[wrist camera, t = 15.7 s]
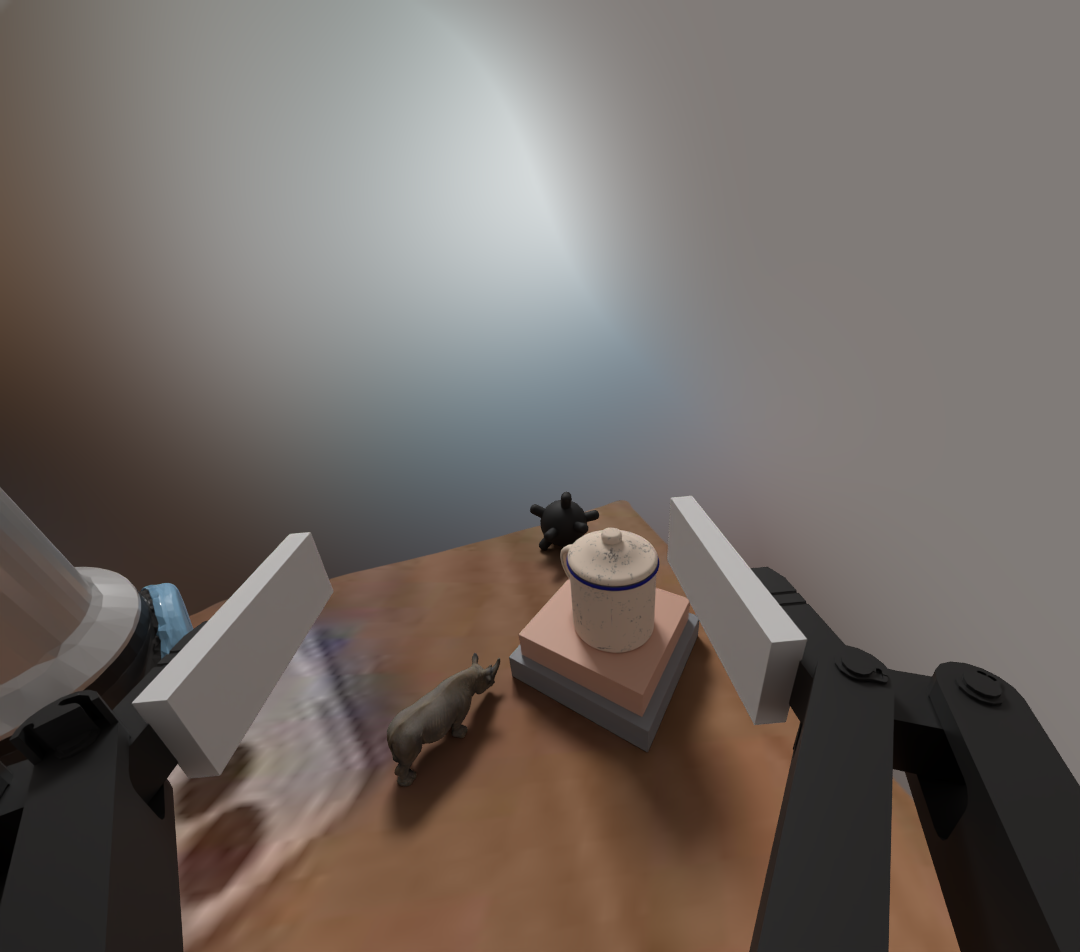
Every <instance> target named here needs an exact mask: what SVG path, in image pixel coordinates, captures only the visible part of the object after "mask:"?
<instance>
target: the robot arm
mask: <svg viewBox="0 0 1080 952" xmlns="http://www.w3.org/2000/svg"><path fill="white" fill-rule="evenodd" d="M667 560H668V562H669V564H670V566H671V568H672V570H673V571H674V573H675V575H676V577H677V579H678V581H679V583H680V585H681V587H682V588H683V590H684V592H685V594H686V596H687V598H688V600H689V602H690V604H691V606H692V607H693V609H694V611H695V613H696V615H697V617H698V619H699V621H700V623H701V625H702V626H703V628H704V630H705V632H706V634H707V636H708V638H709V640H710V642H711V643H712V645H713V647H714V649H715V651H716V653H717V655H718V657H719V659H720V661H721V662H722V664H723V666H724V668H725V670H726V672H727V674H728V676H729V678H730V680H731V681H732V683H733V685H734V687H735V689H736V691H737V693H738V695H739V697H740V698H741V700H742V702H743V704H744V706H745V708H746V710H747V712H748V714H749V716H750V717H751V719H752V721H753V723H754V725H759V724H770V723H780V722H786V719H787V715H788V711H789V707H790V706H791V708H792V709H793V711H794V713H795V714H796V716H797V717H798V719H799V720H800V725H799V729H798V732H797V736H796V739H795V743H794V746H793V750H794V751H793V756H792V760H791V765H790V769H789V774H788V778H787V783H786V787H785V792H784V796H783V801H782V806H781V810H780V815H779V819H778V824H777V828H776V833H775V837H774V842H773V846H772V851H771V855H770V860H769V864H768V869H767V874H766V878H765V883H764V887H763V892H762V896H761V901H760V905H759V910H758V914H757V919H756V923H755V928H754V932H753V937H752V942H751V946H750V951H749V952H888V949H889V905H890V861H891V817H892V771H893V769H896V770H900V771H904V772H905V773H906V777H907V780H908V783H909V786H910V790H911V793H912V796H913V799H914V803H915V806H916V809H917V812H918V816H919V819H920V822H921V825H922V828H923V832H924V835H925V838H926V841H927V845H928V848H929V851H930V854H931V857H932V861H933V864H934V867H935V870H936V874H937V877H938V880H939V883H940V886H941V890H942V893H943V896H944V899H945V903H946V906H947V909H948V912H949V916H950V919H951V922H952V925H953V928H954V932H955V935H956V938H957V941H958V945H959V948H960V951H961V952H1080V786H1079V784H1078V783H1077V781H1076V779H1075V778H1074V776H1073V775H1072V773H1071V772H1070V770H1069V768H1068V767H1067V765H1066V764H1065V762H1064V761H1063V759H1062V757H1061V756H1060V754H1059V753H1058V751H1057V750H1056V748H1055V746H1054V745H1053V743H1052V742H1051V740H1050V739H1049V737H1048V735H1047V734H1046V732H1045V731H1044V729H1043V728H1042V726H1041V724H1040V723H1039V721H1038V720H1037V718H1036V717H1035V715H1034V714H1033V712H1032V711H1031V709H1030V707H1029V706H1028V704H1027V703H1026V701H1025V699H1024V698H1023V697H1022V696H1021V695H1020V694H1019V693H1018V692H1017V691H1016V689H1015V688H1014V687H1012V686H1011V685H1010V684H1008V683H1007V682H1005V681H1004V680H1002V679H1001V678H1000V677H998V676H996V675H994V674H992V673H990V672H988V671H986V670H984V669H982V668H979V667H976V666H973V665H969V664H966V663H959V662H947V663H942V664H940V665H939V666H938V667H937V668H936V670H935V672H934V674H933V676H932V677H930V676H925V675H918V674H913V673H907V672H901V671H895V670H891V669H887V667H886V666H885V665H884V664H883V663H882V662H881V661H879V660H878V659H877V658H875V657H874V656H872V655H871V654H869V653H867V652H865V651H863V650H860V649H858V648H855V647H851V646H846V645H845V644H844V643H843V642H842V641H841V640H840V639H839V638H838V636H837V635H836V634H835V633H834V632H833V631H832V630H831V628H829V626H828V625H827V624H826V623H825V622H824V621H823V620H822V618H821V617H820V616H819V615H818V614H817V613H816V612H815V611H814V610H813V608H812V607H811V606H810V605H809V604H806V601H805V600H804V598H803V597H802V596H801V595H800V594H799V593H797V592H796V589H794V587H793V586H792V585H791V584H790V583H789V582H788V581H787V580H786V578H785V577H783V576H781V575H780V574H778V573H777V572H775V571H773V570H772V569H770V568H768V567H761V568H749V566H748V565H747V564H746V563H745V562H744V560H743V559H742V558H741V556H740V555H739V554H738V553H737V551H736V550H735V549H734V548H733V546H732V545H731V544H730V543H729V542H728V540H727V539H726V538H725V536H724V535H723V534H722V533H721V531H720V530H719V529H718V528H717V526H716V525H715V524H714V523H713V522H712V520H711V519H710V518H709V517H708V515H707V514H706V513H705V512H704V510H703V509H702V508H701V507H700V505H699V504H698V503H697V502H696V500H695V499H694V498H693V497H692V496H684V497H675V498H671V504H670V521H669V541H668V557H667ZM332 593H333V589H332V587H331V584H330V581H329V579H328V576H327V574H326V571H325V568H324V566H323V563H322V561H321V558H320V555H319V553H318V550H317V548H316V545H315V542H314V540H313V537H312V535H311V532H307V533H297V534H289V535H288V537H287V538H286V539H285V540H284V541H283V542H282V543H281V544H280V545H279V546H278V547H277V548H276V549H275V550H274V551H273V553H272V554H271V555H270V556H269V557H268V558H267V559H266V560H265V561H264V562H263V563H262V564H261V565H260V566H259V567H258V569H257V570H256V571H255V572H254V573H253V574H252V575H251V576H250V577H249V578H248V579H247V580H246V581H245V582H244V584H243V585H242V586H241V587H240V588H239V589H238V590H237V591H236V592H235V593H234V594H233V595H232V596H231V598H229V600H228V601H227V602H226V603H225V604H224V605H223V606H222V607H221V608H220V609H219V610H218V611H217V612H216V613H215V615H214V616H213V617H212V618H211V619H210V620H209V621H204V622H203V623H201V624H200V625H199V626H197V627H196V628H194V629H193V627H192V624H191V621H190V619H189V616H188V613H187V610H186V607H185V605H184V602H183V600H182V597H181V595H180V592H179V590H178V589H177V588H176V586H174V585H173V584H168V583H163V584H159V585H149V586H146V587H144V588H142V590H141V591H140V592H138V590H137V589H136V588H135V587H134V585H133V584H132V583H131V582H130V581H129V580H128V579H127V578H125V577H123V576H122V575H120V574H118V573H115V572H112V571H109V570H105V569H100V568H92V567H73V566H72V565H71V564H70V562H68V560H67V559H66V558H65V557H64V556H63V555H62V554H61V553H60V552H59V551H58V550H57V548H56V547H55V546H54V545H53V544H52V543H51V542H50V541H49V540H48V539H47V538H46V536H45V535H44V534H43V533H42V532H41V531H40V530H39V529H38V528H37V527H36V526H35V525H34V523H33V522H32V521H31V520H30V519H29V518H28V517H27V516H26V515H25V514H24V513H23V511H22V510H21V509H20V508H19V507H18V506H17V505H16V504H15V503H14V502H13V501H12V500H11V499H10V497H9V496H8V495H7V494H6V493H5V492H4V491H3V490H2V489H1V488H0V952H183V937H182V922H181V907H180V892H179V876H178V861H177V846H176V831H175V816H174V800H173V788H172V786H171V784H170V782H169V781H168V780H167V778H168V776H169V775H170V773H171V772H172V771H173V769H174V768H175V767H176V765H177V764H178V765H179V766H180V767H181V769H182V770H183V771H184V773H185V774H186V775H187V777H188V778H198V777H208V776H219V775H221V773H222V771H223V770H224V768H225V766H226V765H227V763H228V762H229V760H230V758H231V757H232V755H233V754H234V752H235V750H236V749H237V747H238V745H239V744H240V742H241V741H242V739H243V737H244V736H245V734H246V732H247V731H248V729H249V728H250V726H251V724H252V723H253V721H254V720H255V718H256V716H257V715H258V713H259V711H260V710H261V708H262V707H263V705H264V703H265V702H266V700H267V698H268V697H269V695H270V694H271V692H272V690H273V689H274V687H275V685H276V684H277V682H278V681H279V679H280V677H281V676H282V674H283V673H284V671H285V669H286V668H287V666H288V664H289V663H290V661H291V660H292V658H293V656H294V655H295V653H296V651H297V650H298V648H299V647H300V645H301V643H302V642H303V640H304V638H305V637H306V635H307V634H308V632H309V630H310V629H311V627H312V626H313V624H314V622H315V621H316V619H317V617H318V616H319V614H320V613H321V611H322V609H323V608H324V606H325V604H326V603H327V601H328V600H329V598H330V596H331V595H332Z"/></svg>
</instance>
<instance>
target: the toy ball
mask: <svg viewBox="0 0 1080 952" xmlns="http://www.w3.org/2000/svg"><path fill="white" fill-rule="evenodd" d="M571 500H572V498H571V494H570V493H569V492H564V493H563V494H562V496H561V500H558V501H555V502H553V503H551V504H550V505H548V506H547V507H546V509H545V508H543V507H541V506H538V505H536V504H534V505H532V506H531V508H530V512H531V513H532V514H534V515H536V516H538V517H540V518H541V530H542V532H543V534H544V538H543V539H542V540H541V542H540V543H539V547H540V548H541V549H542V550H546V549H547V548H548V547H549V546H550V545H551V544H552V543H553V544H555V545H559V546H567V545H570V544H573V543H574V542H575V541H576V540H578V539H579V538H581V537H582V536H583V535H584V534H585V533H587V531H588V526H587V522H589V521H593V520H596V519H598V518H599V513H598V511H596V510H593V511H589V512H585V513H584V511H583V509H582V508H580V507H579V505H578V504H576V503H575V502H572V501H571Z"/></svg>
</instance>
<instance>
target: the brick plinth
mask: <svg viewBox="0 0 1080 952" xmlns="http://www.w3.org/2000/svg"><path fill="white" fill-rule="evenodd" d="M689 607H690V602H689V600H688V598H685V597H682V596H679V595H676V594H673V593H670V592H667V591H664V590H661V589H658V588H656V592H655V618H654V629H653V632H652V635H651V636H650V638H649V639H648V640H647V642H646V643H644V644H643V645H642V646H640V647H638V648H636V649H634V650H631V651H627V652H621V653H612V652H605V651H601V650H598V649H596V648H594V647H592V646H590V645H588V644H587V643H586V642H584V641H583V640H582V639H581V638H580V636H579V635H578V634H577V632H576V630H575V627H574V623H573V611H572V598H571V584H570V579H568V580H567V581H566V582H565V583H564V585H563V586H562V587H561V588H560V589H559V590H558V591H557V592H556V593H555V595H554V596H553V597H552V598H551V599H550V600H549V601H548V602H547V603H546V605H545V606H544V607H543V608H542V609H541V610H540V611H539V612H538V613H537V615H536V616H535V617H534V618H533V619H532V620H531V621H530V622H529V624H528V625H527V626H526V627H525V628H524V629H523V630H522V631H521V632H520V634H519V640H520V645H519V646H518V647H517V649H516V650H515V651H514V652H513V653H512V654H511V655H510V657H509V659H510V665H511V671H512V676H513V677H515V678H517V679H519V680H520V681H522V682H524V683H526V684H527V685H529V686H531V687H533V688H534V689H536V690H538V691H540V692H542V693H543V694H545V695H547V696H549V697H550V698H552V699H554V700H556V701H557V702H559V703H561V704H563V705H565V706H566V707H568V708H570V709H572V710H573V711H575V712H577V713H579V714H580V715H582V716H584V717H586V718H587V719H589V720H591V721H593V722H595V723H596V724H598V725H600V726H602V727H603V728H605V729H607V730H609V731H610V732H612V733H614V734H616V735H618V736H619V737H621V738H623V739H625V740H626V741H628V742H630V743H632V744H633V745H635V746H637V747H639V748H640V749H642V750H644V751H646V752H648V751H649V749H650V746H651V744H652V742H653V739H654V737H655V735H656V732H657V730H658V728H659V725H660V723H661V721H662V718H663V716H664V713H665V711H666V709H667V706H668V704H669V702H670V699H671V697H672V695H673V692H674V690H675V688H676V685H677V683H678V681H679V678H680V676H681V674H682V671H683V669H684V667H685V664H686V662H687V660H688V657H689V655H690V653H691V650H692V648H693V646H694V643H695V641H696V639H697V636H698V629H699V619H698V617H697V616H696V615H694V614H691V613H689Z"/></svg>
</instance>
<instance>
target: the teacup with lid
mask: <svg viewBox="0 0 1080 952" xmlns="http://www.w3.org/2000/svg"><path fill="white" fill-rule="evenodd" d="M560 558H561V563H562V566H563V569H564V571H565V573H566V575H567V577H568V578H569V579H570V584H571V598H572V611H573V623H574V627H575V630H576V632H577V634H578V635H579V636H580V638H581V639H582V640H583V641H584V642H586V643H587V644H588V645H590V646H592V647H594V648H596V649H598V650H601V651H605V652H612V653H621V652H627V651H631V650H634V649H636V648H638V647H640V646H642V645H643V644H644V643H646V642H647V640H648V639H649V638H650V636H651V635H652V632H653V629H654V618H655V592H656V573H657V571H658V568H659V558H658V555H657V553H656V551H655V549H654V547H653V546H652V545H651V544H650V543H649V542H648V541H647V540H646V539H644V538H642V537H641V536H639V535H636V534H634V533H631V532H627V531H622V530H618V529H616V528H606V529H604V530H600V531H595V532H592V533H589V534H586V535H584V536H582V537H581V538H579V539H578V540H576V541H575V542H574V543H573V544H570V545H567V546H565V547H564V548H563V549H562V550H561V553H560Z"/></svg>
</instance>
